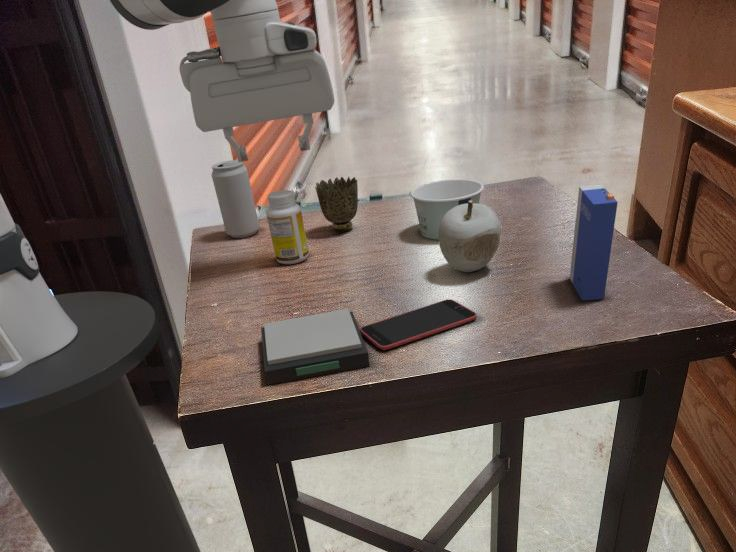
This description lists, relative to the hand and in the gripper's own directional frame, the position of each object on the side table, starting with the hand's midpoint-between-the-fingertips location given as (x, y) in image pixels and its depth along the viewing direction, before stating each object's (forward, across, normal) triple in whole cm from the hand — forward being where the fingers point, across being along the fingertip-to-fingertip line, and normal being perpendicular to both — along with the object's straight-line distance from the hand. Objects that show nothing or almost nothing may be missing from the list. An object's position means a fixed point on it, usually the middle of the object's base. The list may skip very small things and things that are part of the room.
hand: (274, 155), depth 92 cm
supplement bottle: (+16, 0, 0) cm, 16 cm away
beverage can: (+16, -8, +19) cm, 26 cm away
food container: (+16, +26, +1) cm, 31 cm away
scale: (+15, 0, -35) cm, 38 cm away
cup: (+16, +10, +11) cm, 21 cm away
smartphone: (+16, +13, -33) cm, 39 cm away
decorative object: (+16, +24, -18) cm, 34 cm away
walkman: (+16, +37, -31) cm, 51 cm away
